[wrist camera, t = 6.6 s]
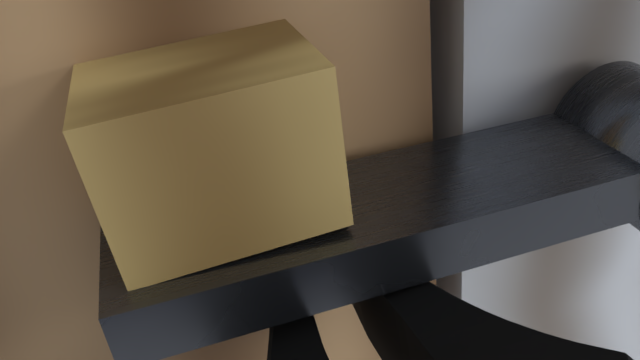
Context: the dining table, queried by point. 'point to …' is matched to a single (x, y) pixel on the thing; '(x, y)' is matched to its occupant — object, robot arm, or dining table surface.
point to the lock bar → (410, 223)
